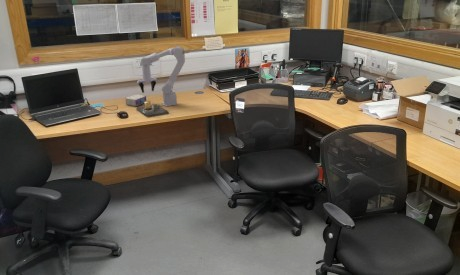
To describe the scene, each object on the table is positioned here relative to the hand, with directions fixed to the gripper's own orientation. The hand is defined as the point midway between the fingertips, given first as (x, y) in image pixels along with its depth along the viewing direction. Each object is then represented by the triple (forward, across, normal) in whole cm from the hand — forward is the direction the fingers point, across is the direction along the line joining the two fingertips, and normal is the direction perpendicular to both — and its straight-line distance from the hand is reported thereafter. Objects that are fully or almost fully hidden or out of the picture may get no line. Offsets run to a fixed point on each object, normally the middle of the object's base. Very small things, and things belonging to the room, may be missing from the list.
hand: (147, 91), depth 295 cm
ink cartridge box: (+7, +13, -2) cm, 15 cm away
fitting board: (+9, +5, +19) cm, 22 cm away
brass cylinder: (+8, +9, +22) cm, 25 cm away
